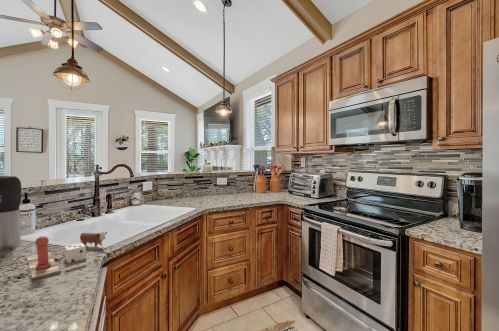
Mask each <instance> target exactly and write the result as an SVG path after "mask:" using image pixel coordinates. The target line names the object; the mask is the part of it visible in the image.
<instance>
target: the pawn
mask: <svg viewBox="0 0 499 331" xmlns="http://www.w3.org/2000/svg"><path fill="white" fill-rule="evenodd" d="M49 240H50V239H49V237H47V236H45V235H41V236H39V237H37V238H36V239H35V245H36V250H37V252H36V253H37V254H38V264H37V265H36V269H37V270H40V271H41V269H44V270H45V268H48V267H50V266H51V262H49V261H48V252H49V249H48V248H49V247H48V245H49ZM37 254H36V255H37Z"/></svg>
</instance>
